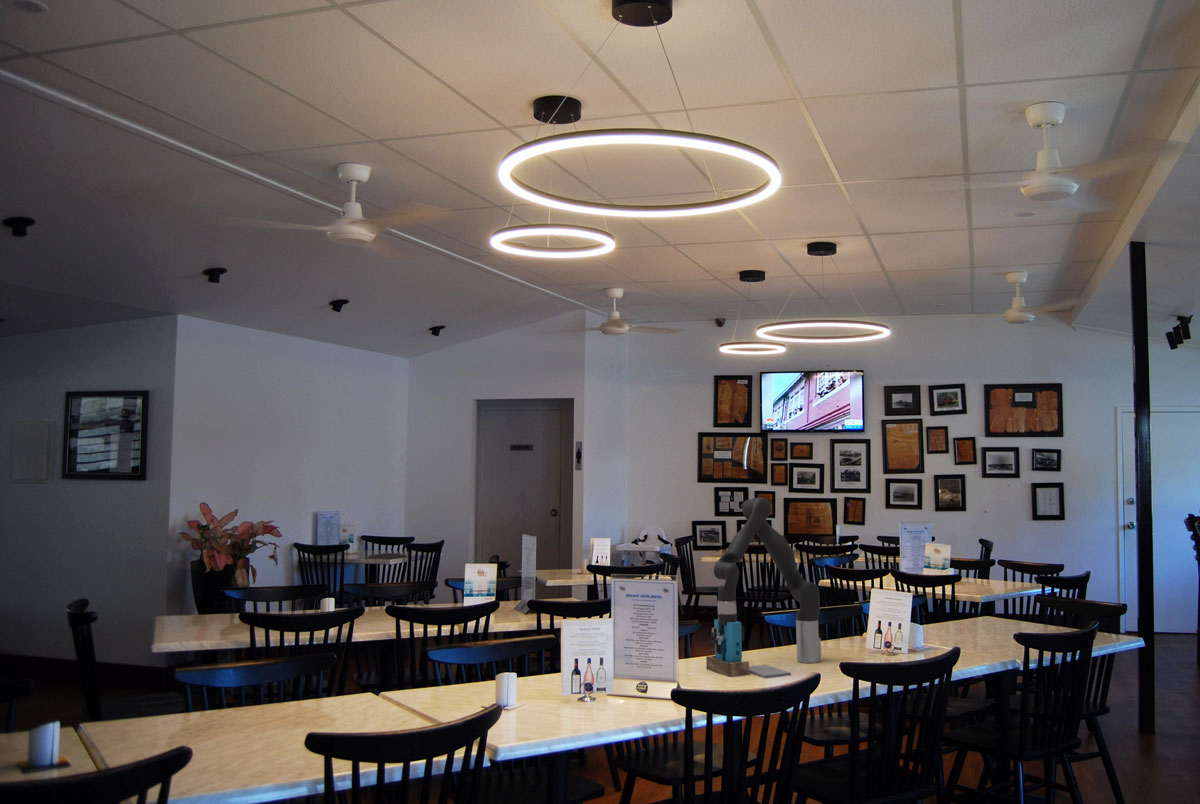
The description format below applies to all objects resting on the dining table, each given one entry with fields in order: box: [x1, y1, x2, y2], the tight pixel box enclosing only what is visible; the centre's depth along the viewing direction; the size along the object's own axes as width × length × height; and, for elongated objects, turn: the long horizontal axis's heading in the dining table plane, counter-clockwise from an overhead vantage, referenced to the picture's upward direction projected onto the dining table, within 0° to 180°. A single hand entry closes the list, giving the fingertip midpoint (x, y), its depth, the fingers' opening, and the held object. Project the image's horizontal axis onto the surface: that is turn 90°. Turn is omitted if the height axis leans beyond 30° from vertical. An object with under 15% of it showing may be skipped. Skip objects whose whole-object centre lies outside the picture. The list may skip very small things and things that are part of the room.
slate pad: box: [749, 664, 792, 679], centre depth 362 cm, size 12×18×1 cm, turn 24°
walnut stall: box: [705, 655, 750, 678], centre depth 364 cm, size 9×17×5 cm, turn 24°
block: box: [713, 618, 743, 663], centre depth 365 cm, size 12×5×20 cm, turn 32°
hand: (728, 653), depth 365 cm, fingers open, 8 cm apart
